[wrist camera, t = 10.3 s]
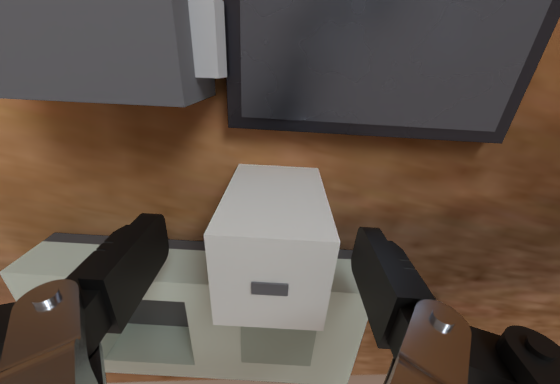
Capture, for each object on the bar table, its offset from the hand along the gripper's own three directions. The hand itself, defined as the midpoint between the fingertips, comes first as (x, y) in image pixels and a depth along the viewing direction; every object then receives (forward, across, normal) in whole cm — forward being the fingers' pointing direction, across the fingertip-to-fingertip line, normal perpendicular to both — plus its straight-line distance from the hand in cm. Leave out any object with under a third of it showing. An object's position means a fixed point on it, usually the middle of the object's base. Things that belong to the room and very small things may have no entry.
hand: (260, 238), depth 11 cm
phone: (+4, -4, -7) cm, 9 cm away
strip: (+3, 0, +7) cm, 8 cm away
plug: (+4, +6, -7) cm, 10 cm away
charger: (+3, -1, 0) cm, 3 cm away
